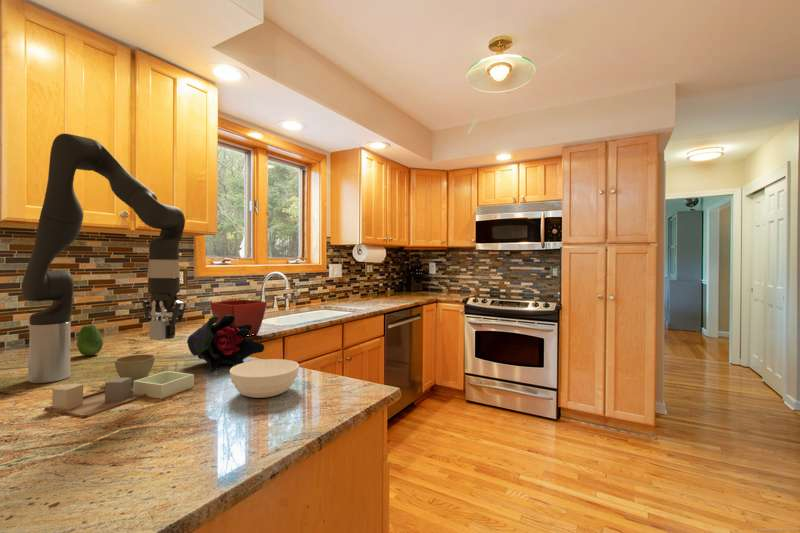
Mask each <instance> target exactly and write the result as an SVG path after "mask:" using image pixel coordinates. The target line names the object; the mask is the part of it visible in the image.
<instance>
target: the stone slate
mask: <svg viewBox="0 0 800 533" xmlns="http://www.w3.org/2000/svg"><path fill="white" fill-rule="evenodd" d="M166 326H167V325H166V322H165V318H163V319H159V320H153V321H150V322H149V332H148V333H149V340H152V341H153V340H155V341H163V340H167V339H166Z"/></svg>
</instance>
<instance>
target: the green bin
mask: <svg viewBox="0 0 800 533" xmlns="http://www.w3.org/2000/svg"><path fill="white" fill-rule="evenodd" d="M194 387H195V374H193V373H185V372H178V371H169V370H165V371H162V372H159V373H155V374H152V375H148V376H147V377H145V378H142V379H138V380H135V381H133V383H132V390H133V394H136V395H144V394H147V397H149V398H154V399H155V398H156V399H162V400H163V399H164V398H167V397H171V396H173V395H175V394H178V393H181V392H183V391H186V390H189V389H191V388H194Z"/></svg>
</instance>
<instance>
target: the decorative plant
mask: <svg viewBox="0 0 800 533" xmlns="http://www.w3.org/2000/svg"><path fill="white" fill-rule="evenodd" d="M218 318H219V317H218V316H217V315H216V314H215V315H214V316H213V315H212V316H211V317H209V319H208V320H207V321H206V322H205V323H204V324H203V325H202V326H201V327H199V328H197V329H196V330H195V331H194V332H192V333H191V334H190V335H189V336H188V338H187V341H186V342H187V347H188V350H189V351H190V353H191V355H192V356H194V357H195V356H197V358H198V359H199V360H204V361H205V362H207V364H208V366H209V368H210V372H216V371H217V369H218V367H219V366H220V363H222V364H229V365H232V366H236V365H238V364H241V363H245V361H244V360H245V359H247V358H248V357H250V356H252V355H255V354H259V353H263V352H264V351H265V346H264V344H263V343H261V342H259V341H258V342H257V341H254V340H251V339H249V338H248V337H246V336H247V335H248V334H249V330H251V328H252V326H250V325H243V326H231V324H232V322H233V321H234V318H235V316H233V315H224V316H223V317H222V319H221V320H220V321H219V322H217V323H216V324H215V322H216V320H218Z"/></svg>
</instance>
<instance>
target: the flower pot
mask: <svg viewBox="0 0 800 533" xmlns="http://www.w3.org/2000/svg"><path fill="white" fill-rule="evenodd" d="M155 358H156V356H155V355H154V354H148V353H147V354H142V353H141V354H131V355H126V356H122V357H121V356H120V357H117V358H115V359H114V367H115V370H116V373H117V374H118V376H119V378H132V384H133V381H135V380H138V379H142V378H145V377H148V376H150V373H151V370H152V368H153V366H154V362H155Z"/></svg>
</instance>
